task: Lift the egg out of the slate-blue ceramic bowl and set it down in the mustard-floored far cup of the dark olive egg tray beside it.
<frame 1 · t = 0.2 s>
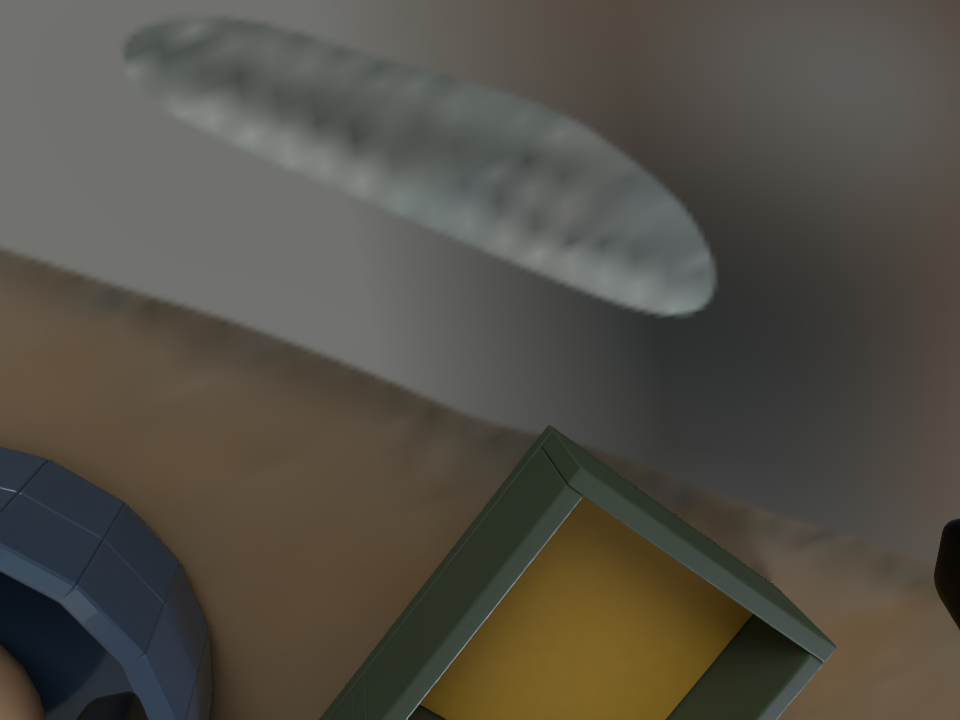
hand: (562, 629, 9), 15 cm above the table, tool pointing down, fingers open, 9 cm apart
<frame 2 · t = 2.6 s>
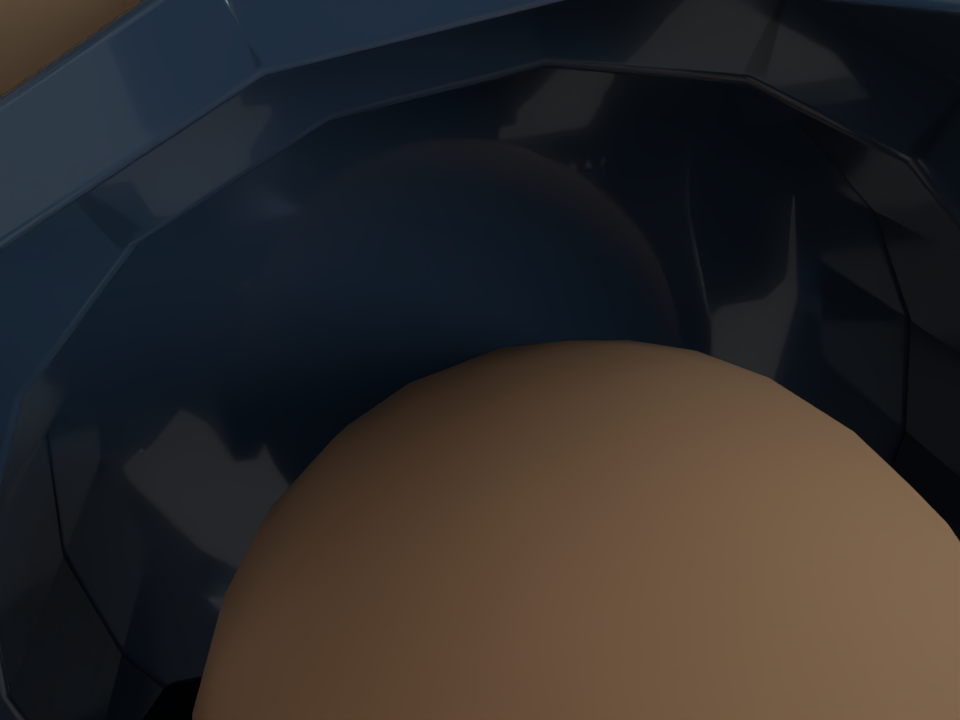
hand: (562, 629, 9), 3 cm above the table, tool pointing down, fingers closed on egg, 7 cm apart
bowl: (504, 469, 12), on the table
egg: (507, 478, 12), resting on bowl, touching gripper
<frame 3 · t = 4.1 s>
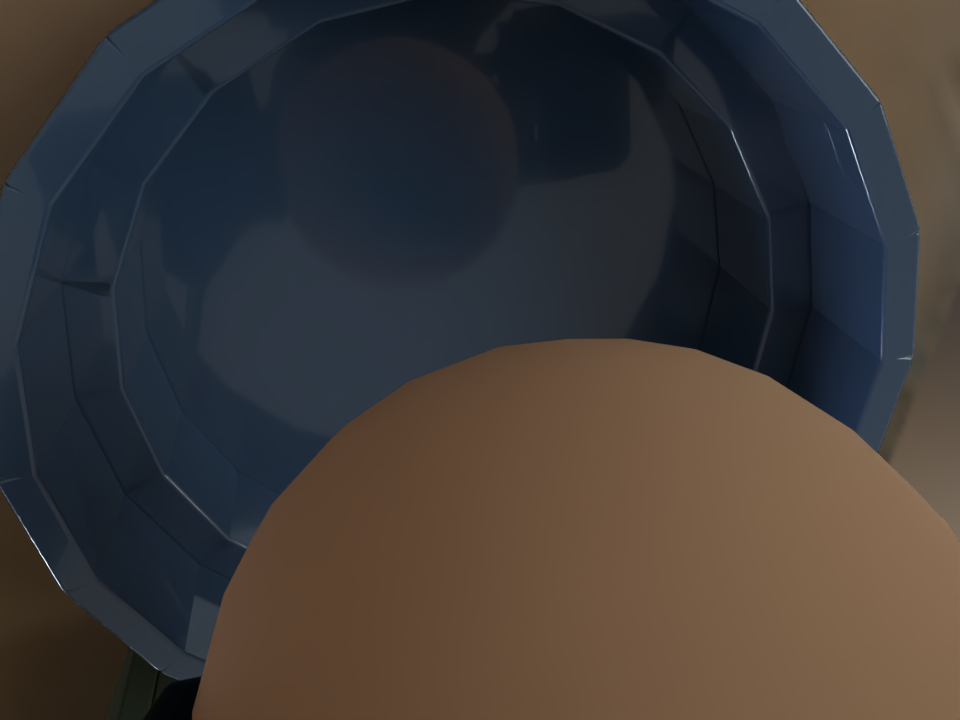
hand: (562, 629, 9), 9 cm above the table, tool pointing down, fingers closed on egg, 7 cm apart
bowl: (443, 289, 18), on the table
egg: (506, 477, 12), point 7 cm above the table, touching gripper
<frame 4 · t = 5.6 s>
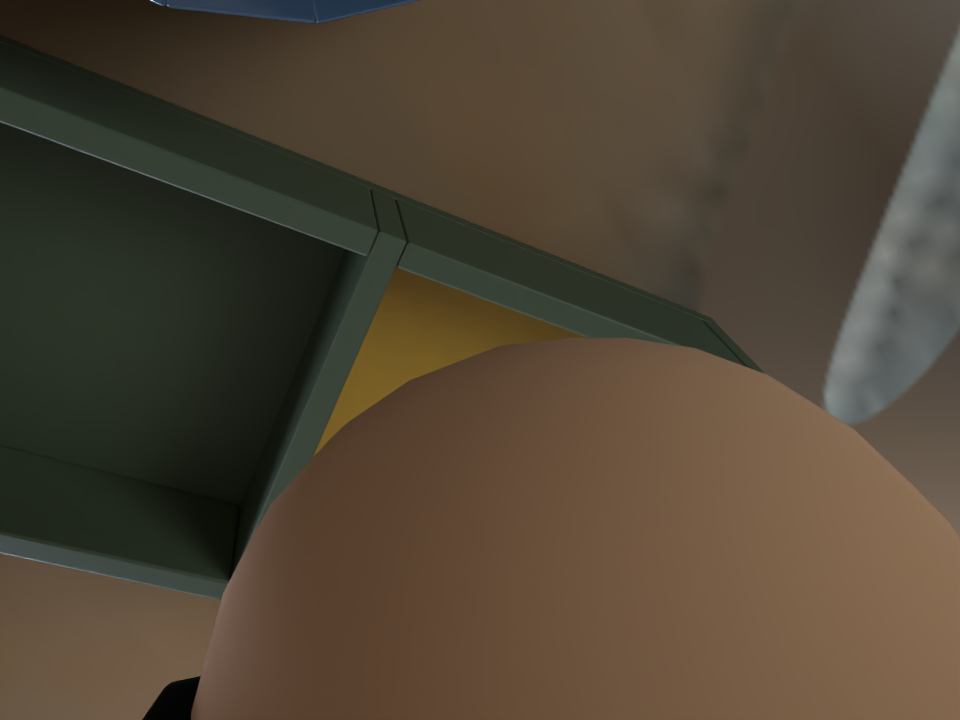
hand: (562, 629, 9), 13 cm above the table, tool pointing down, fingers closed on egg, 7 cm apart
carton: (308, 363, 22), on the table
egg: (506, 477, 12), point 10 cm above the table, touching gripper
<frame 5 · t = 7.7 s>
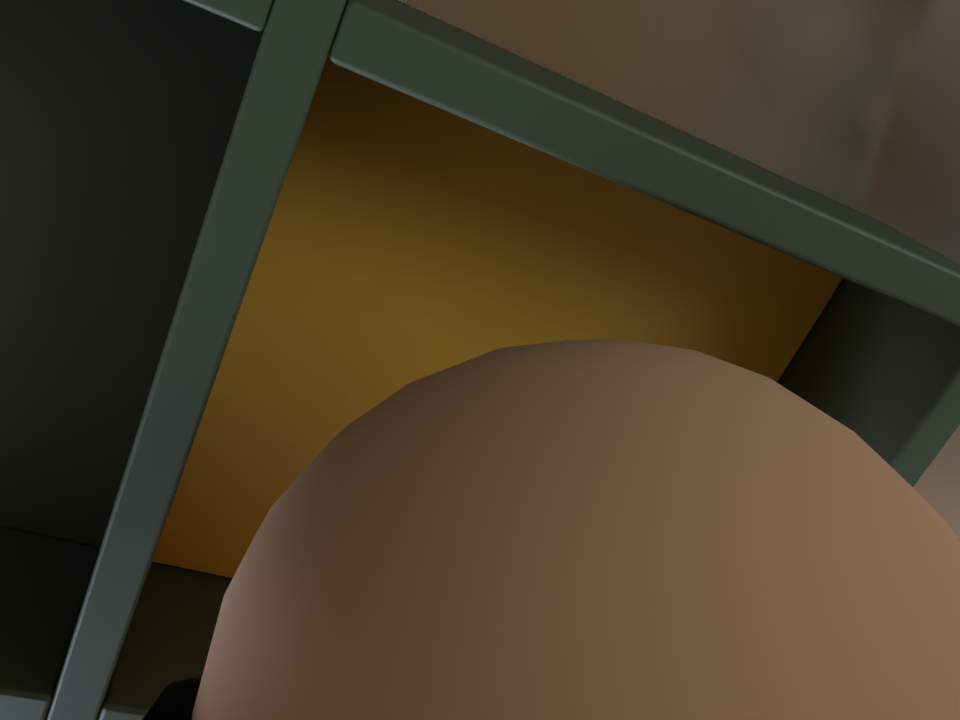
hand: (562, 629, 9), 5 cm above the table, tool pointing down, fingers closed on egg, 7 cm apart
carton: (204, 302, 12), on the table
egg: (507, 478, 12), point 2 cm above the table, touching gripper
when the fingers open (3 cm above the table, at t = 9.0 s): egg stays where it is, resting on carton.
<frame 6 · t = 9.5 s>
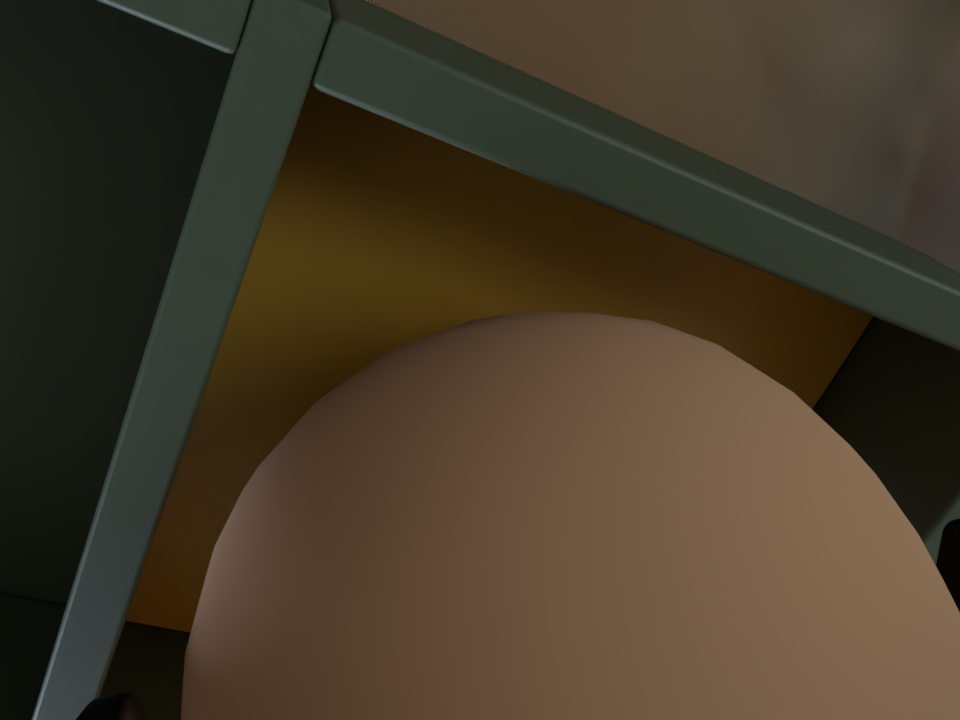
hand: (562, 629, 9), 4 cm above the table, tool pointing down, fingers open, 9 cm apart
carton: (180, 342, 11), on the table
egg: (486, 451, 12), point 1 cm above the table, touching carton
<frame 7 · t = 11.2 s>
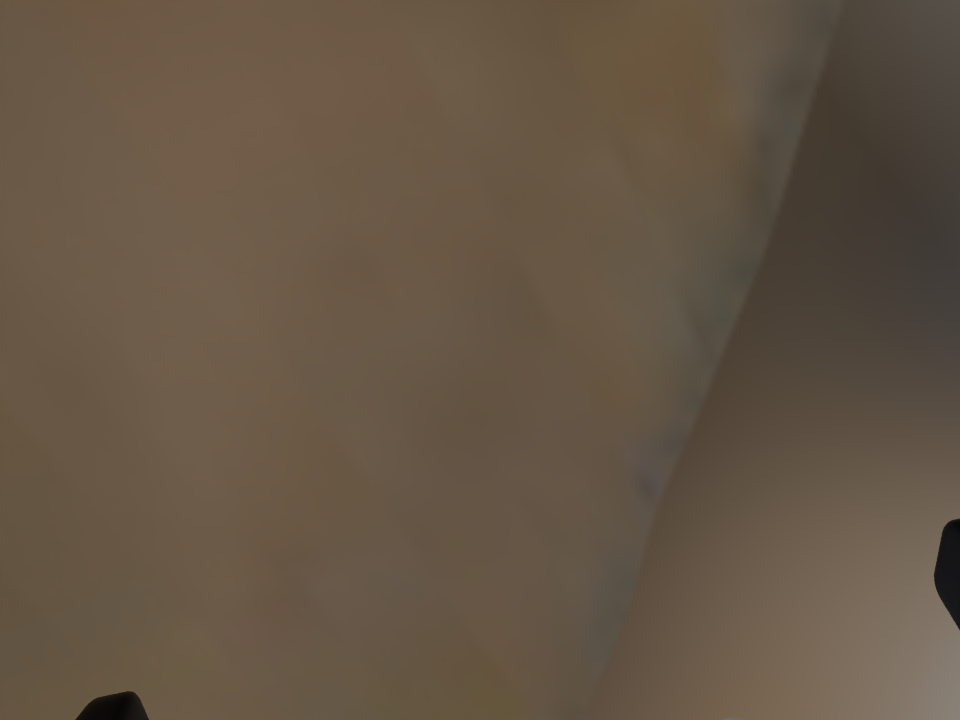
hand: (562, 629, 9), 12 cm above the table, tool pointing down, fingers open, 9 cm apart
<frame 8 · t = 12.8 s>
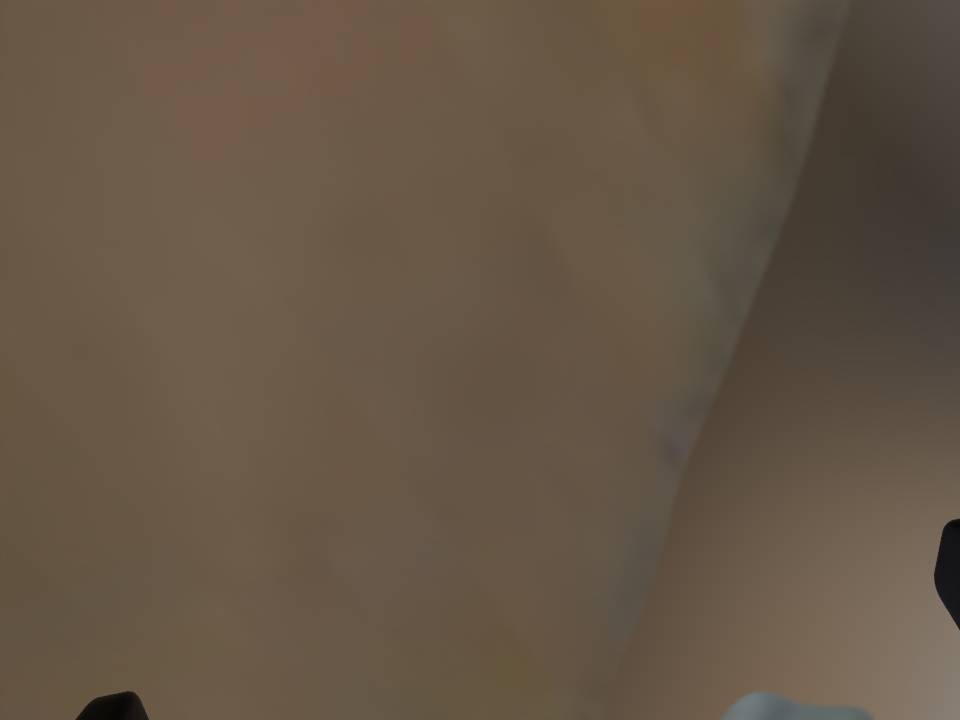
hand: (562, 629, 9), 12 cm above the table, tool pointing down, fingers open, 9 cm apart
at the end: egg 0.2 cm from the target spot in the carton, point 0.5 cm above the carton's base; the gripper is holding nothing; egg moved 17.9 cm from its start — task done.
